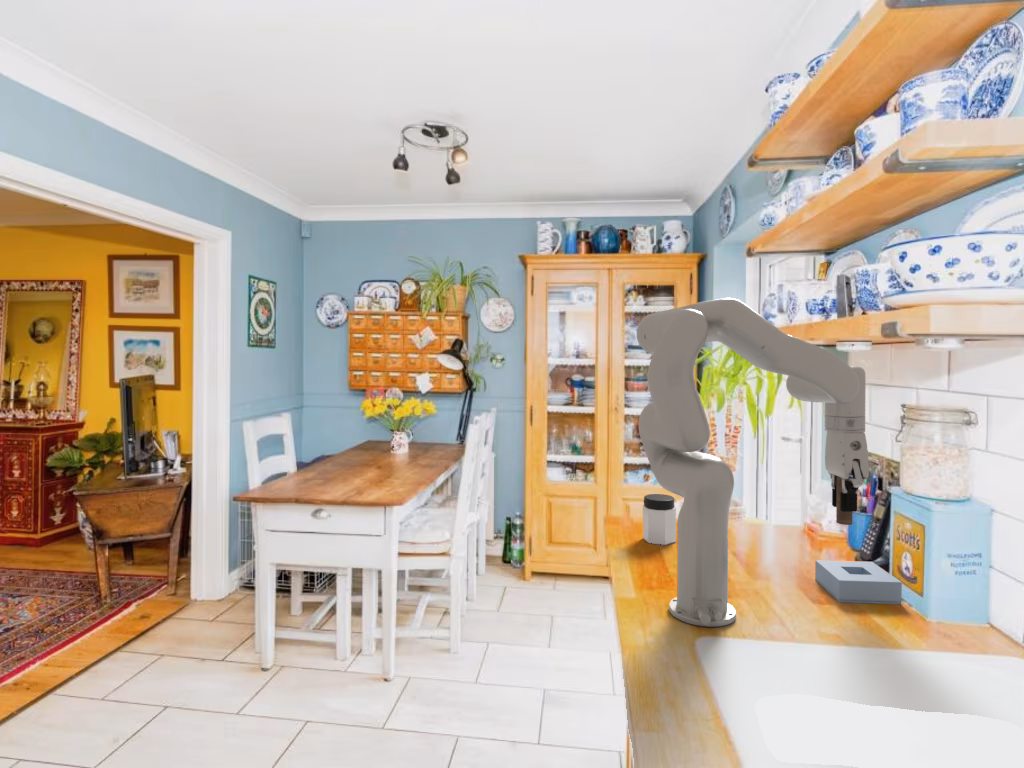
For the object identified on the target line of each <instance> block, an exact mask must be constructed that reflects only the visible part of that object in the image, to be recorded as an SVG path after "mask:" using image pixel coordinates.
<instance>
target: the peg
mask: <svg viewBox="0 0 1024 768" xmlns="http://www.w3.org/2000/svg"><path fill="white" fill-rule="evenodd" d="M848 478H853V477H852V476H849V477H848ZM849 482H852V481H847V485H848V483H849ZM840 492H842V478H840V477H838V476H837V496H836V507H835V508H836V515H835V516H836V520H835V521H836V523H837V524H839V525H843V526H844V525H845V526H848V525H849V526H850V525H853V512H843V511H841V510H840Z"/></svg>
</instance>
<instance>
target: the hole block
mask: <svg viewBox="0 0 1024 768" xmlns="http://www.w3.org/2000/svg"><path fill="white" fill-rule="evenodd" d="M814 565H815V567H814V569H815V570H814V571H815V572H814V575H815V576H814V577H815V578H814V579H815V582H817V583H818V584H819V585H820V586H821V587H822V588H823V589H825V590H826V592H827V593H829V594H830V595H831V596H832V597H833V598H834V599H835V600H836V601H838V603H860V604H861V603H862V604H863V603H864V604H885V605H886V604H887V605H888V604H889V605H902V590H903V589H902V586H903V583H902V581H900V580H899V579H898V578H896V577H895V576H893V575H892V574H891V573H889V572H888V571H886V570H885V569H884V568H882V567H881V566H879V565H878V564H877V563H875V562H873V561H860V560H859V561H858V560H857V561H855V560H830V559H829V560H826V559H825V560H824V559H820V560H819V559H815V564H814Z"/></svg>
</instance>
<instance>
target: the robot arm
mask: <svg viewBox="0 0 1024 768" xmlns="http://www.w3.org/2000/svg"><path fill="white" fill-rule="evenodd" d="M636 341H637V343H638V344H639V346H640V347H641V349H642V350H644V351H645V352H647V353H648V354H652V357H651V359H650V361H649V365H648V370H647V377H646V378H647V386H648V391H649V393H650V398H651V400H652V401H651V402H650V403H648V404H647V405H646V406H644V408H643V409H642V411H641V412H640V415H639V417H638V433H639V436H640V440H641V443H642V445H643V449H644V452H645V454H646V457H647V460H648V463H649V466H650V469H651V472H652V473H653V476H654V478H655V479H656V481H657V483H658V485H660V487H661V488H663V489H664V490H666V491H667V492H671V493H672V494H674V495H677V496H679V497H682V498H683V502H682V505H681V508H680V510H679V513H678V515H677V519H676V597H673V598H672V599H671V600H669V602H668V611H669V612H670V614H671V615H672V616H673V618H675V619H677V620H678V621H679V620H680V621H682V622H683V623H687V624H690V625H694V626H697V627H698V626H699V627H708V628H710V627H711V628H715V627H724V626H728V625H730V624H731V623H733V622H734V621H736V617H737V612H736V609H735V607H734V606H733V605H732V604H730V603H729V602H728V599H729V598H728V595H729V594H728V586H729V584H728V583H729V580H728V579H729V577H728V576H729V575H728V574H729V518H730V516H729V515H730V507H731V501H732V497H733V492H734V488H735V479H734V478H735V477H734V473H733V471H732V469H731V467H730V466H729V464H727V463H726V462H725V461H724V460H722V459H721V458H719V457H717V456H714V455H712V454H709V453H704V452H700V451H701V450H702V449H703V448H706V446H707V445H708V443H709V440H710V436H711V430H710V425H709V422H708V418H707V416H706V413H705V409H704V406H703V404H702V399H701V398H700V395H699V393H698V389H697V385H696V381H695V377H694V375H695V374H694V369H695V363H696V361H697V358H698V356H699V354H700V352H701V351H702V349H703V347H704V345H705V343H709V342H712V343H713V342H717V343H718V342H719V343H721V344H723V345H724V346H725V347H727V348H728V349H730V350H732V351H734V352H735V353H736V354H737V355H739V356H740V357H742V358H743V359H744V360H746V361H747V362H748V363H750V364H751V365H753V366H754V367H756V368H758V369H761V370H763V371H767V372H770V373H774V374H779V375H784V376H787V379H786V383H785V386H786V387H785V388H786V389H787V390H786V391H788V393H789V394H790V396H792V398H794V399H796V400H799V401H801V402H811V403H823V404H824V431H826V436H825V451H824V453H825V454H824V463H825V464H824V465H825V466H824V467H825V469H826V471H827V472H828V474H829V476H830V479H831V482H830V483H831V485H830V486H831V492H832V493H831V494H832V496H831V505H832V507H833V508H836V496H837V476H838V477H840V478H842V492H840V510H841V511H843V512H852V513H854V512H857V511H858V494H859V489H860V487H861V486H863V485H864V481H863V480H867V479H868V478H869V469H870V468H869V454H868V453H869V452H868V451H869V450H868V443H867V436H866V433H865V432H866V371H865V369H864V368H863V367H861V366H857V365H856V366H855V365H854V366H853V365H851V366H850V365H849V364H848V363H847V362H845V361H844V360H843V359H842V358H840V357H838V356H837V355H836V354H835V353H833V352H831V351H829V350H827V349H825V348H823V347H820V346H818V345H815V344H814V343H810V342H808V341H806V340H803V339H801V338H799V337H797V336H796V337H795V336H793V335H790V334H787V333H785V332H783V331H782V330H780V329H779V328H778V327H776V326H775V325H774V324H773V323H771V322H770V321H768V320H767V319H766V318H764V317H763V316H762V315H761V314H759V313H758V312H756V311H755V310H754V309H753V308H751V307H750V306H748V304H746V303H744V302H743V301H741V300H740V299H738V298H737V299H736V298H733V297H732V298H731V297H724V298H717V299H710V300H703V301H699V302H695V303H692V304H688V305H684V306H680V307H676V308H670V309H665V310H661V311H658V312H657V311H656V312H653V313H649V314H647V315H646V316H645V317H643V318H642V319H641V321H640V322H639V323H638V326H637V328H636ZM849 476H851V477H853V478H848V477H849ZM847 481H852V482H849V483H848V485H847Z"/></svg>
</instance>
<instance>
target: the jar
mask: <svg viewBox="0 0 1024 768" xmlns="http://www.w3.org/2000/svg"><path fill="white" fill-rule="evenodd" d="M676 511H677V509H676V507H675V497H674V496H673V495H672V496H671V495H669V494H664V493H663V494H662V493H652V494H651V493H650V494H646V495H644V496H643V505H642V539H643V540H644V541H646V542H647V543H648V544H651V543H652V544H653V545H660V544H661V545H662V546H667V545H670V544H673V543H675V542H677V513H676Z"/></svg>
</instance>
